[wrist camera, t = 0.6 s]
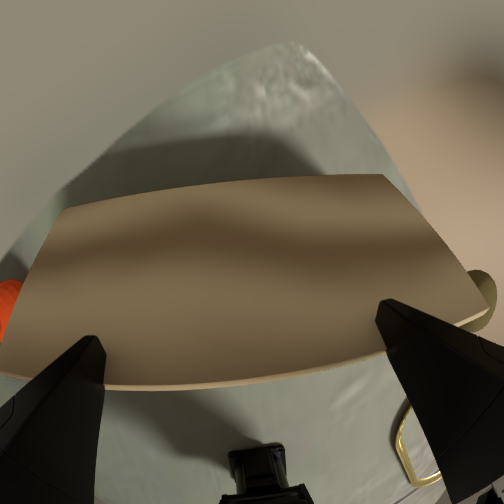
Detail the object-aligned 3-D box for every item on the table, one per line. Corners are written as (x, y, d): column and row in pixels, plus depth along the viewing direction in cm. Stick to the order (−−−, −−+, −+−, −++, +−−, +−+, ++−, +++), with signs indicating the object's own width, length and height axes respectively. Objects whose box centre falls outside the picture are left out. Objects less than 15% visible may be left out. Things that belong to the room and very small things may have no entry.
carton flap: (484, 314, 8) (490, 307, 8) (1, 374, 6) (-6, 368, 6) (381, 180, 16) (382, 174, 16) (66, 215, 14) (64, 208, 14)
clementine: (32, 350, 22) (-2, 373, 15) (2, 302, 21) (-35, 315, 14) (64, 316, 23) (25, 337, 15) (31, 262, 22) (-12, 269, 15)
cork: (427, 310, 26) (496, 336, 15) (388, 312, 26) (459, 347, 15) (434, 258, 26) (508, 267, 15) (395, 255, 25) (474, 265, 14)
